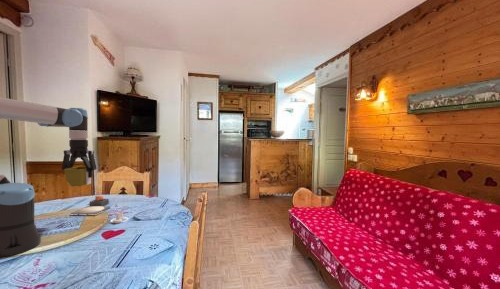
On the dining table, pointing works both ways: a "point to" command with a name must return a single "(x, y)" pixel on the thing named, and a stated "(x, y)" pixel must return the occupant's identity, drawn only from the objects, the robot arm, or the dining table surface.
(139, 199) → the dining table surface
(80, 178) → the flower pot
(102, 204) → the button housing
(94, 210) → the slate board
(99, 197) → the button
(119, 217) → the teacup and saucer
